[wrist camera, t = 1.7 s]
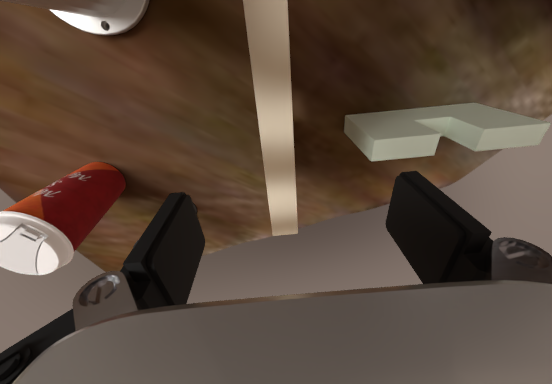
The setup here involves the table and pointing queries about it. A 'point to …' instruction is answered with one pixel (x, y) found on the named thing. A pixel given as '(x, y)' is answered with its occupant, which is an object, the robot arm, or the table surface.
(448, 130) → the sage board
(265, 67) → the maple plate
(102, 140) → the table surface
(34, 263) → the coffee cup
